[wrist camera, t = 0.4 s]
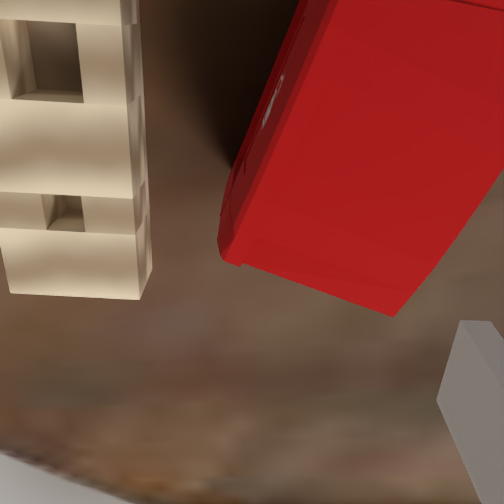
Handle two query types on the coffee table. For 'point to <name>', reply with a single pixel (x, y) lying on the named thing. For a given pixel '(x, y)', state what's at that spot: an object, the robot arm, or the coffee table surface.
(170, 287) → the coffee table surface
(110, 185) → the bore block
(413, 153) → the fire alarm
